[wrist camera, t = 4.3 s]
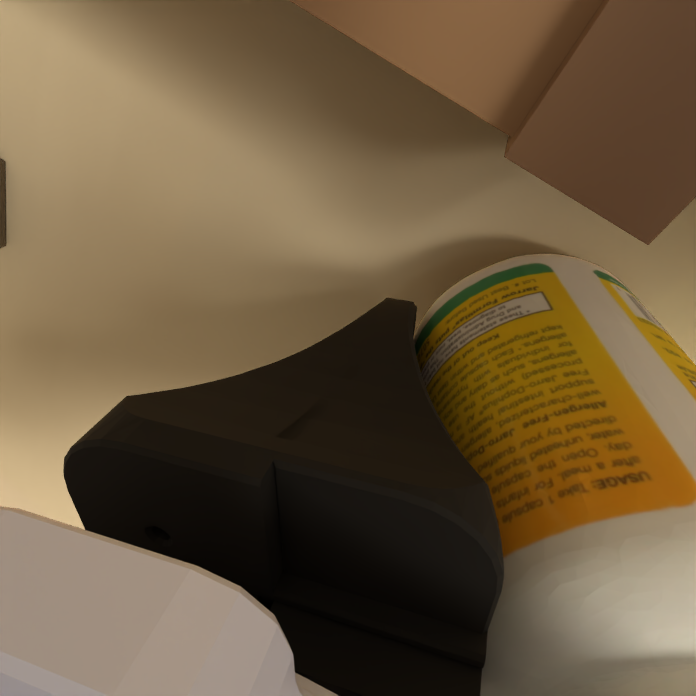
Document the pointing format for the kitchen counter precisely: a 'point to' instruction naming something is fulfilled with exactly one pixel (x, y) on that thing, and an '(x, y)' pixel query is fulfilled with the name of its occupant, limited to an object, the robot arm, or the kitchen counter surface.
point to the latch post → (2, 204)
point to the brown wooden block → (559, 88)
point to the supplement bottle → (574, 474)
